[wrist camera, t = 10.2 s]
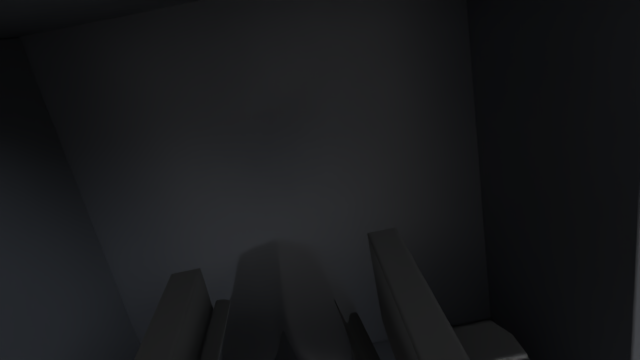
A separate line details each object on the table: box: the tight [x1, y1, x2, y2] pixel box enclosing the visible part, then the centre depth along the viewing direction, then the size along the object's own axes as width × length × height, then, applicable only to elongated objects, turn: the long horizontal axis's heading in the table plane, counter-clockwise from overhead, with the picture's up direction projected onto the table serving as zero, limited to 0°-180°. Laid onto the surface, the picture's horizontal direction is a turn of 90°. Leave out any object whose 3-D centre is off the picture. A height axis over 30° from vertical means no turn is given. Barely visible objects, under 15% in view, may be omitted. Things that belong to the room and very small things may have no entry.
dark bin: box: [0, 0, 640, 360], centre depth 15 cm, size 18×18×10 cm
